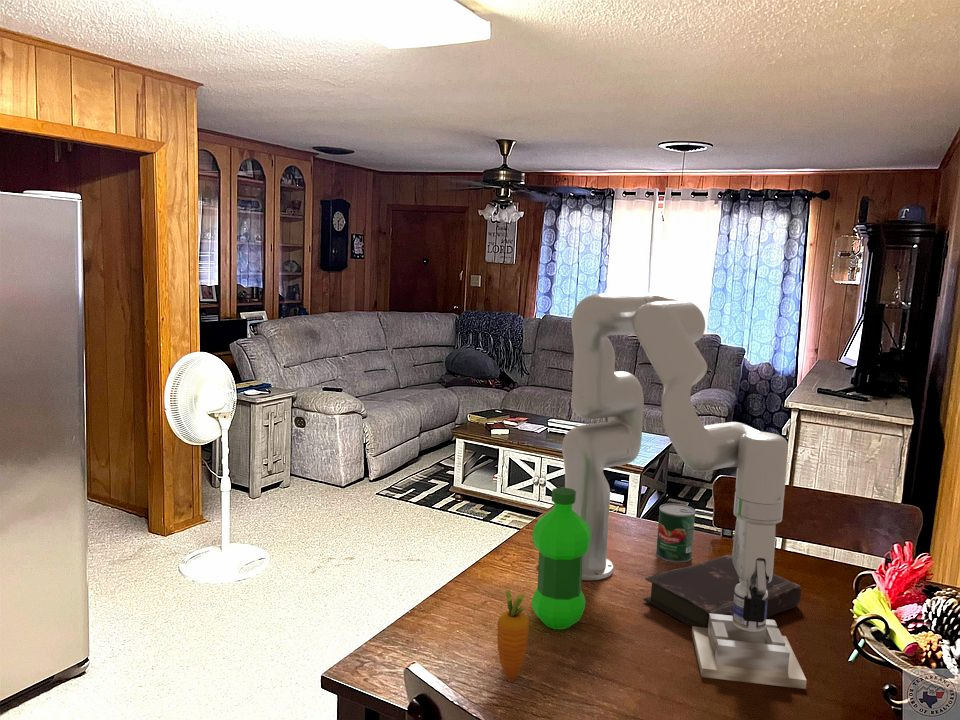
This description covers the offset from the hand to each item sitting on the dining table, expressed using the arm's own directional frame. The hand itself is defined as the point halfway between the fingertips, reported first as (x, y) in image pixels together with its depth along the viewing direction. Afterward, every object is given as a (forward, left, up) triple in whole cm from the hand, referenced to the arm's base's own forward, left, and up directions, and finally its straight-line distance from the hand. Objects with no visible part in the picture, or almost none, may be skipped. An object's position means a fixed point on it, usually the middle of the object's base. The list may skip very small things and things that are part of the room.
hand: (749, 611), depth 126 cm
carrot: (-38, -15, -9) cm, 42 cm away
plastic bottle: (-32, +6, -9) cm, 34 cm away
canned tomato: (-8, +43, -9) cm, 45 cm away
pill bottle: (0, 0, -3) cm, 3 cm away
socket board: (0, 0, -9) cm, 9 cm away
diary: (-1, +20, -9) cm, 22 cm away
